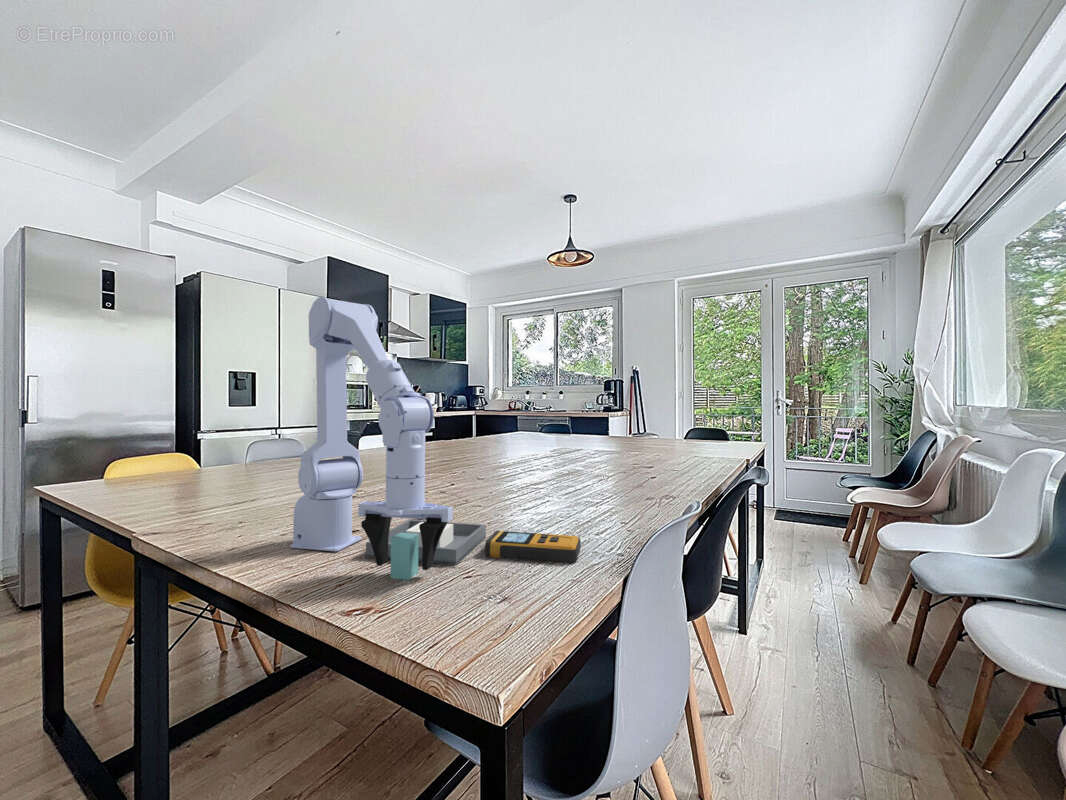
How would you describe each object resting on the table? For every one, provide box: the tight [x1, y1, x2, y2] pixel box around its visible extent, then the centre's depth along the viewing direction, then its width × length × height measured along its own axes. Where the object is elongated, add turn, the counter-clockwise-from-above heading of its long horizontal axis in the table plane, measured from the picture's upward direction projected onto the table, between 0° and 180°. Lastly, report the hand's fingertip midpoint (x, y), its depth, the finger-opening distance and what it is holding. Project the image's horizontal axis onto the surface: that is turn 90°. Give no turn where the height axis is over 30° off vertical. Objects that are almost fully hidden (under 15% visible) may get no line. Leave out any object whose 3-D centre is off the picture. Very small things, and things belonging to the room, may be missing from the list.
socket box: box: [365, 519, 487, 566], centre depth 88 cm, size 16×16×4 cm
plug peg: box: [390, 533, 419, 581], centre depth 74 cm, size 3×3×6 cm
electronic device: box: [484, 530, 582, 565], centre depth 85 cm, size 8×16×3 cm, turn 79°
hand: (404, 565), depth 74 cm, fingers open, 7 cm apart
